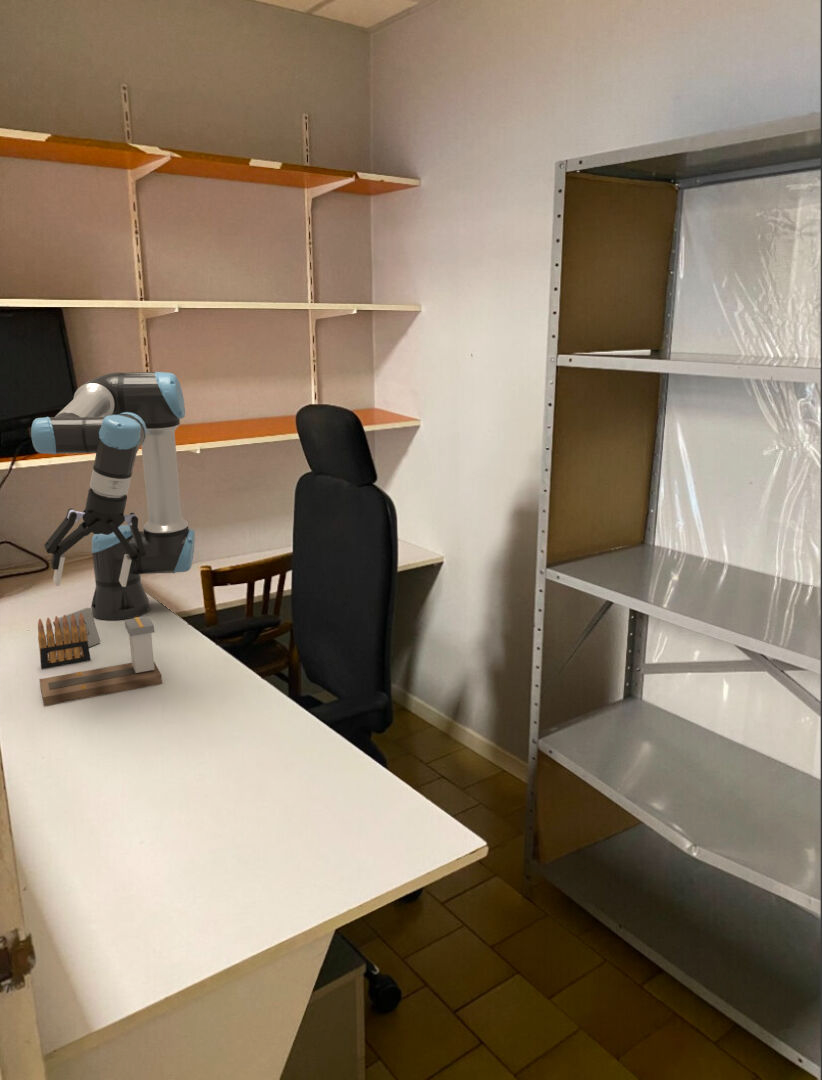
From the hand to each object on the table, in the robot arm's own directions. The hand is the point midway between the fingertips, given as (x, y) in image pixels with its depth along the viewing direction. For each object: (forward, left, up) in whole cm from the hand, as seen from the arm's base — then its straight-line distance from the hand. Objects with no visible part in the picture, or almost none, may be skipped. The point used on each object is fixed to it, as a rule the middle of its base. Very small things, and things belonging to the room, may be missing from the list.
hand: (90, 583), depth 175 cm
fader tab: (-6, +7, -21) cm, 23 cm away
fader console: (0, 0, -23) cm, 23 cm away
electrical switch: (-18, -18, -24) cm, 35 cm away
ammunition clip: (-9, -15, -24) cm, 29 cm away
